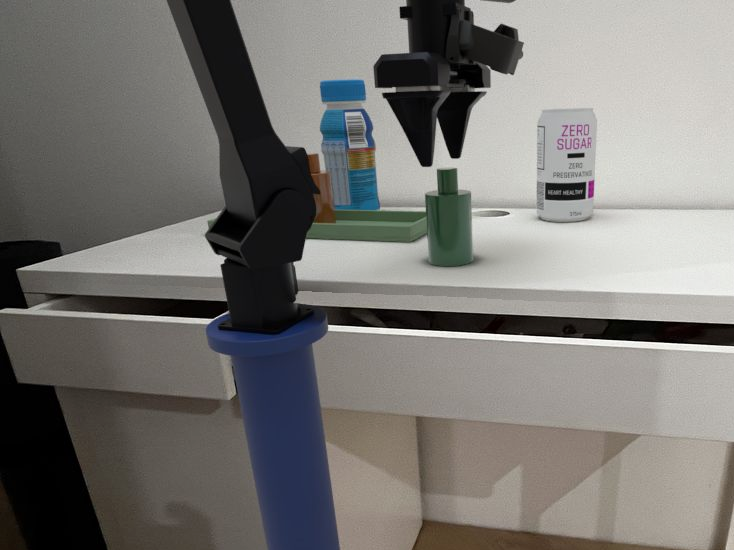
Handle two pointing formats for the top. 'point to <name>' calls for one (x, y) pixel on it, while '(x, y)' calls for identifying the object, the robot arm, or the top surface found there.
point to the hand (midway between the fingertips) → (442, 162)
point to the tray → (370, 226)
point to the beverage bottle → (349, 145)
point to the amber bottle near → (322, 191)
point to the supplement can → (566, 164)
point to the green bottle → (449, 221)
